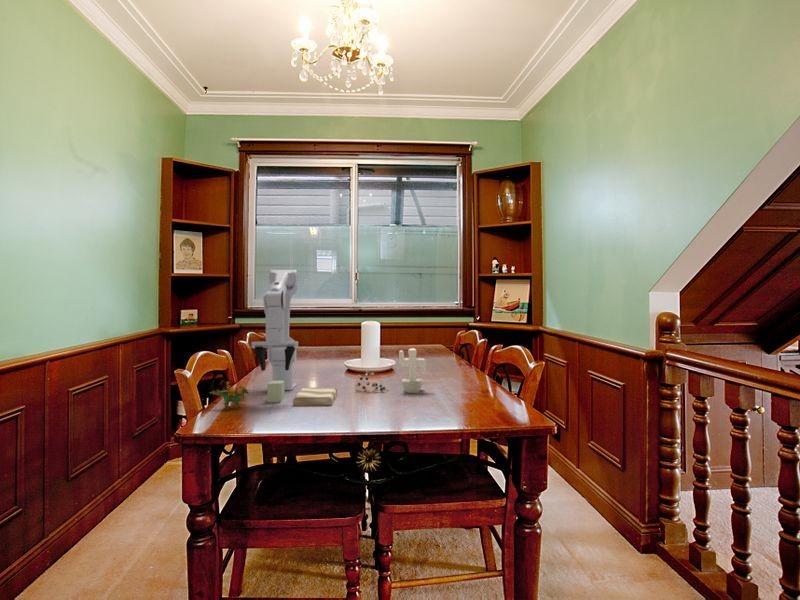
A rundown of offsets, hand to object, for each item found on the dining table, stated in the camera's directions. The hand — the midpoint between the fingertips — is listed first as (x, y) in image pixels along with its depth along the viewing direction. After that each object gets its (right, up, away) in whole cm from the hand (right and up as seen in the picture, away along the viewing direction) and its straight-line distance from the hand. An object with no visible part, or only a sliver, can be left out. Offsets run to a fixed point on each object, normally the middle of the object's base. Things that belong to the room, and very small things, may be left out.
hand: (275, 370), depth 147 cm
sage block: (0, -10, +1) cm, 10 cm away
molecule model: (+30, -10, +13) cm, 35 cm away
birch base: (+13, -10, +1) cm, 16 cm away
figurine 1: (-12, -11, -8) cm, 18 cm away
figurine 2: (+45, -10, +13) cm, 48 cm away
